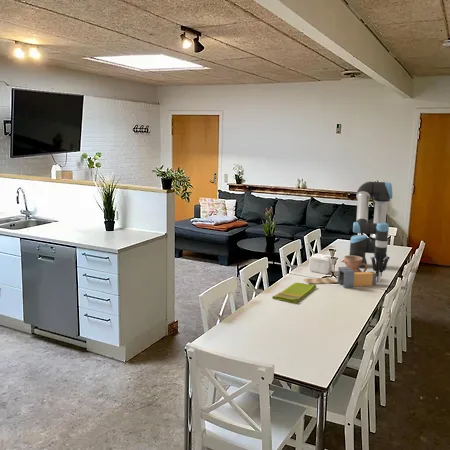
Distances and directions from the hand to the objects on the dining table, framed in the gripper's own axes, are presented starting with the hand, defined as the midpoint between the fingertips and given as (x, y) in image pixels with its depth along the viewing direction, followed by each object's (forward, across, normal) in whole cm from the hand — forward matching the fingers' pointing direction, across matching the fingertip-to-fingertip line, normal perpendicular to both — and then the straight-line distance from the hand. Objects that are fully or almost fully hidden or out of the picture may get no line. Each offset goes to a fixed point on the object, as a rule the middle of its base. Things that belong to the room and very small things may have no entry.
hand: (378, 281), depth 306 cm
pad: (+2, +36, -10) cm, 38 cm away
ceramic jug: (+2, +9, -17) cm, 20 cm away
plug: (+2, +12, 0) cm, 12 cm away
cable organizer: (+2, +26, -33) cm, 42 cm away
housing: (+2, +23, 0) cm, 23 cm away
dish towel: (+3, +62, +10) cm, 63 cm away
